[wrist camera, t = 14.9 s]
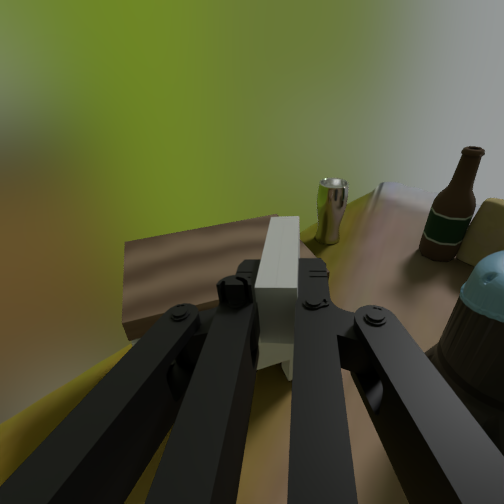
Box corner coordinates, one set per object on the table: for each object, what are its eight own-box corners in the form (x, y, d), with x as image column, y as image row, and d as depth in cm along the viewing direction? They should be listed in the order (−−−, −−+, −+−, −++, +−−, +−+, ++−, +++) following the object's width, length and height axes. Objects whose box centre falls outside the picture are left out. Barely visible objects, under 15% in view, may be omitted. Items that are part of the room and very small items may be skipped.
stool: (315, 379, 45) (329, 271, 34) (163, 430, 39) (121, 323, 28) (275, 309, 57) (276, 213, 46) (156, 341, 52) (124, 242, 41)
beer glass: (313, 230, 81) (318, 176, 73) (340, 232, 80) (348, 177, 72) (312, 244, 76) (318, 187, 67) (341, 246, 74) (350, 189, 66)
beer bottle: (432, 264, 67) (472, 155, 54) (410, 246, 73) (441, 144, 60) (463, 260, 68) (510, 151, 55) (439, 242, 74) (476, 141, 61)
